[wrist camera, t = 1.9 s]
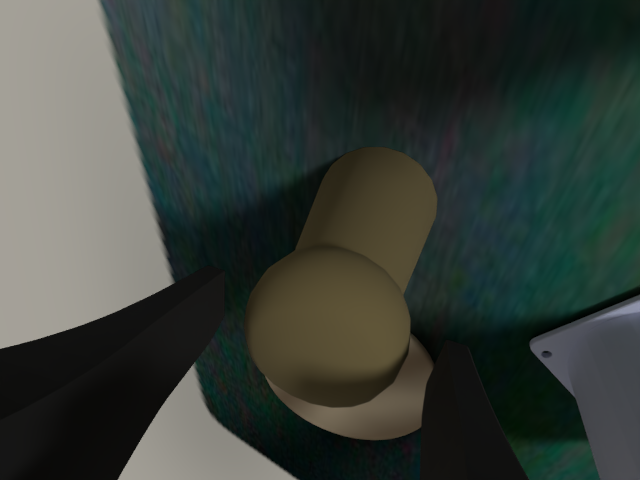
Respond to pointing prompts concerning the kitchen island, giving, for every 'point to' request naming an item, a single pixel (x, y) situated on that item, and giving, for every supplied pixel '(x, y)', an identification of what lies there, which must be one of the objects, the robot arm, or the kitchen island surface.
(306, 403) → the cork trivet
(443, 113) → the kitchen island surface
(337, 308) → the pepper shaker
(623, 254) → the kitchen island surface
